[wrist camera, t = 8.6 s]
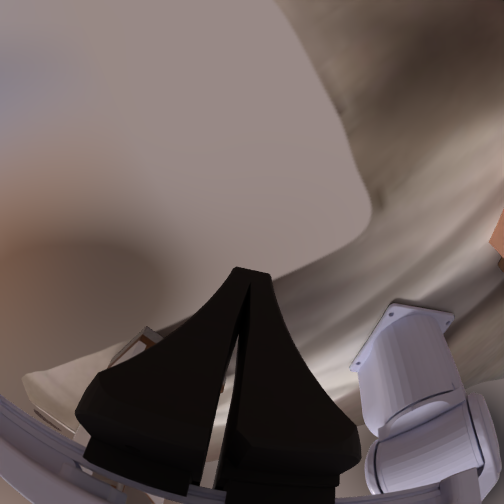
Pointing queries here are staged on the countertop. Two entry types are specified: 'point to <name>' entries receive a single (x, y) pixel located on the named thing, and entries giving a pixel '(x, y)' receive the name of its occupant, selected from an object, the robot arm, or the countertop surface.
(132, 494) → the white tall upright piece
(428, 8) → the countertop surface
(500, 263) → the tan wooden box
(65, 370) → the countertop surface
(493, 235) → the terracotta brick
